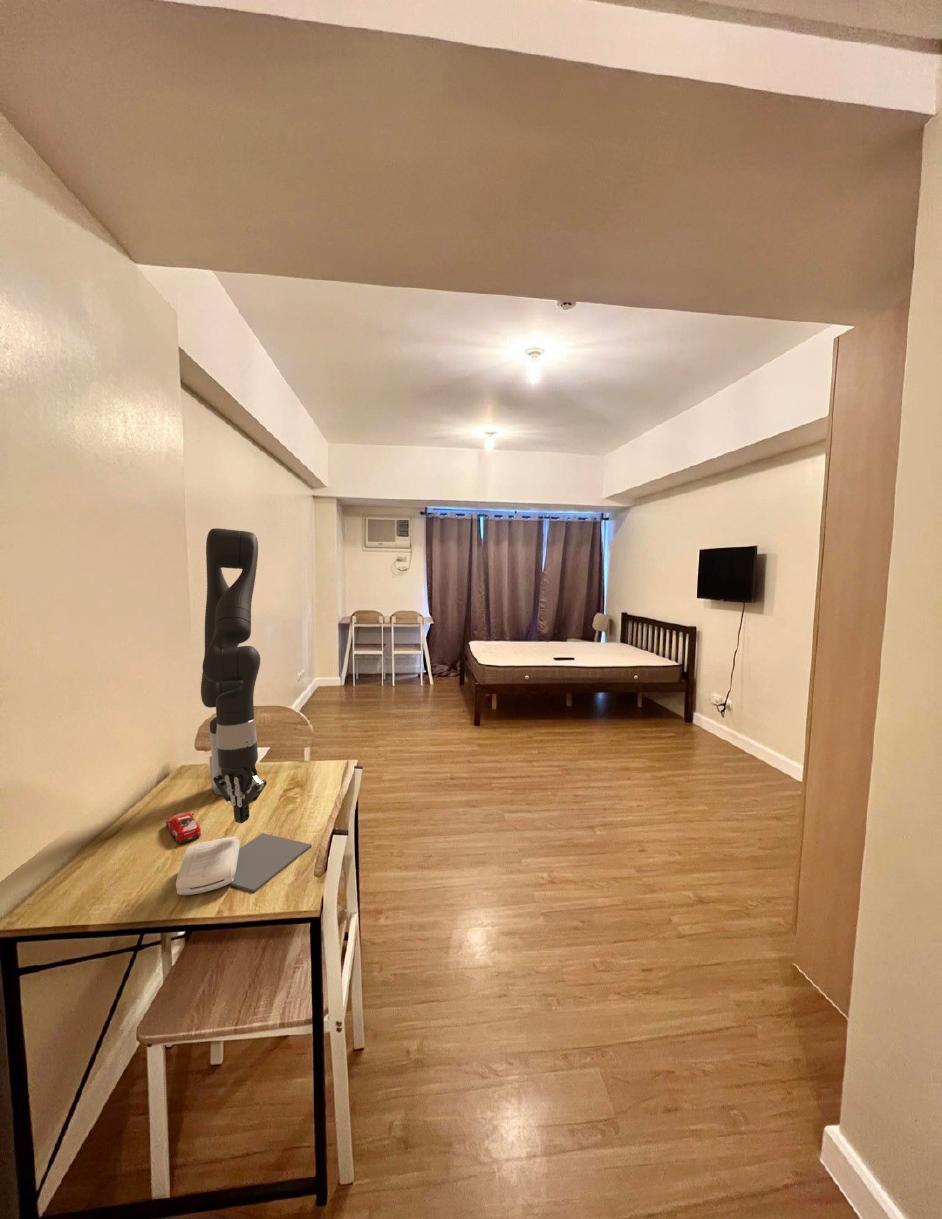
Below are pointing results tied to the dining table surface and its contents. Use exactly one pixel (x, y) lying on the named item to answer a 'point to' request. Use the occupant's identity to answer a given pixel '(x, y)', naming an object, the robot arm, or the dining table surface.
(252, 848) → the gray mat
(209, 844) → the photo printer
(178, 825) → the race car
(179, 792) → the dining table surface
